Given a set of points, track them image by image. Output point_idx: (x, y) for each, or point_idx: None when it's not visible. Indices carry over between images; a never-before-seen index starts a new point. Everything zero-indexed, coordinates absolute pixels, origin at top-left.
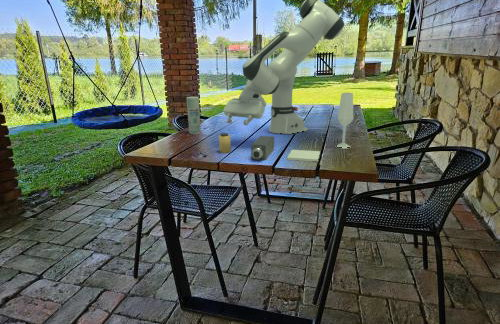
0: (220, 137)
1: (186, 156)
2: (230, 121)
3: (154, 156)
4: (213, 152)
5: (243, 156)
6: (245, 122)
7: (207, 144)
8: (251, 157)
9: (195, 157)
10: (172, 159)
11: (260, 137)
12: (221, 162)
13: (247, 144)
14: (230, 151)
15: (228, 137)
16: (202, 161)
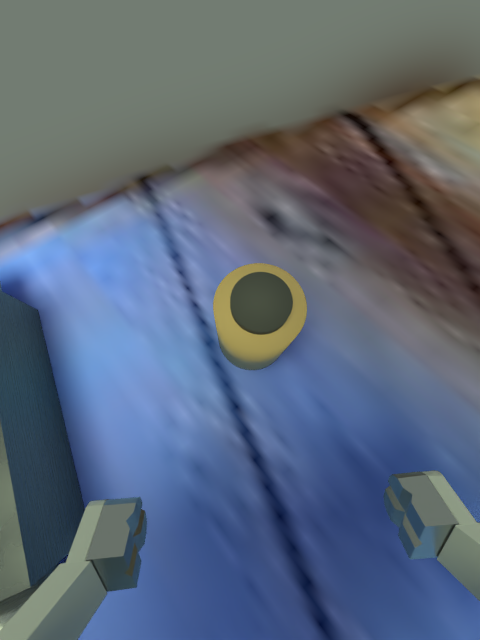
0: (259, 266)
1: (339, 175)
2: (402, 514)
3: (443, 112)
4: None
5: (100, 321)
6: (99, 508)
7: (467, 399)
8: (32, 307)
9: (293, 186)
10: (347, 123)
11: (3, 517)
12: (138, 195)
13: (252, 587)
14: (221, 350)
15: (214, 305)
16: (221, 164)
